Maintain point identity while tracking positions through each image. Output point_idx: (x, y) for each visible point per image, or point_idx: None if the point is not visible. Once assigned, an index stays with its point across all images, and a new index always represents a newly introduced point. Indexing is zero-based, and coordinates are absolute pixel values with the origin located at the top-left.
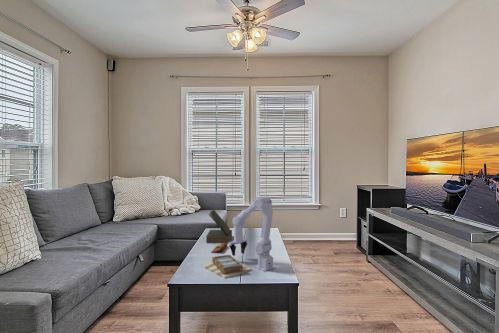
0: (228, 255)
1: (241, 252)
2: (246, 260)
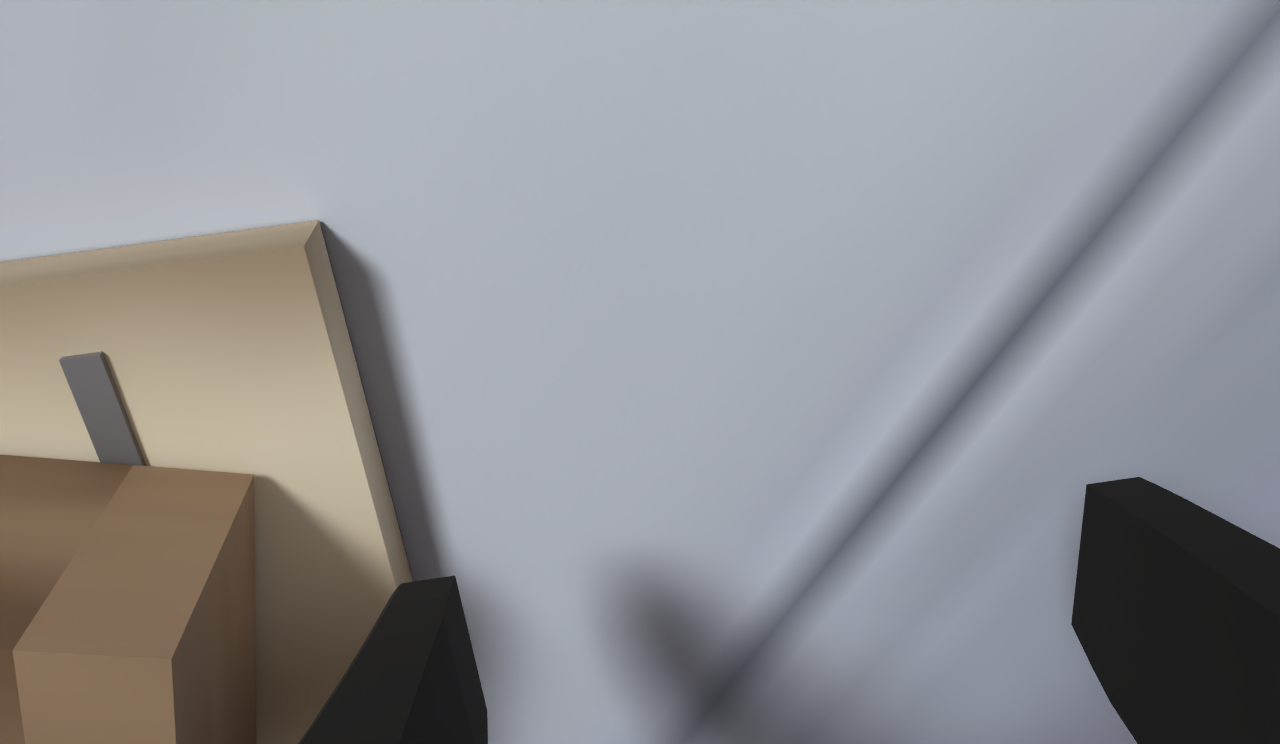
0: (48, 739)
1: (1099, 516)
2: (982, 591)
